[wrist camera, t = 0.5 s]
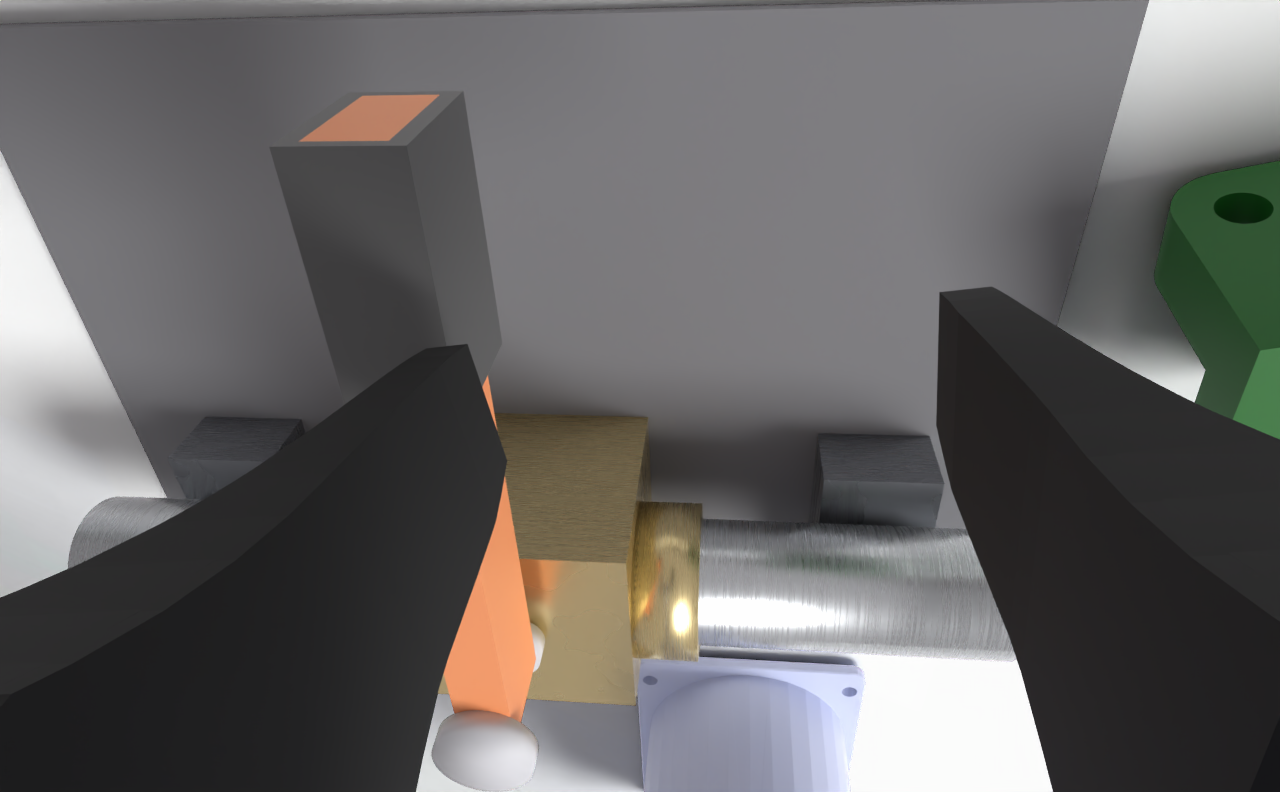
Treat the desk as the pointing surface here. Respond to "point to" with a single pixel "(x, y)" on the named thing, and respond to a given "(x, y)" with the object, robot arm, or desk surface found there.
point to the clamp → (1229, 288)
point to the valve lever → (405, 325)
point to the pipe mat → (591, 207)
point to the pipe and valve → (674, 551)
